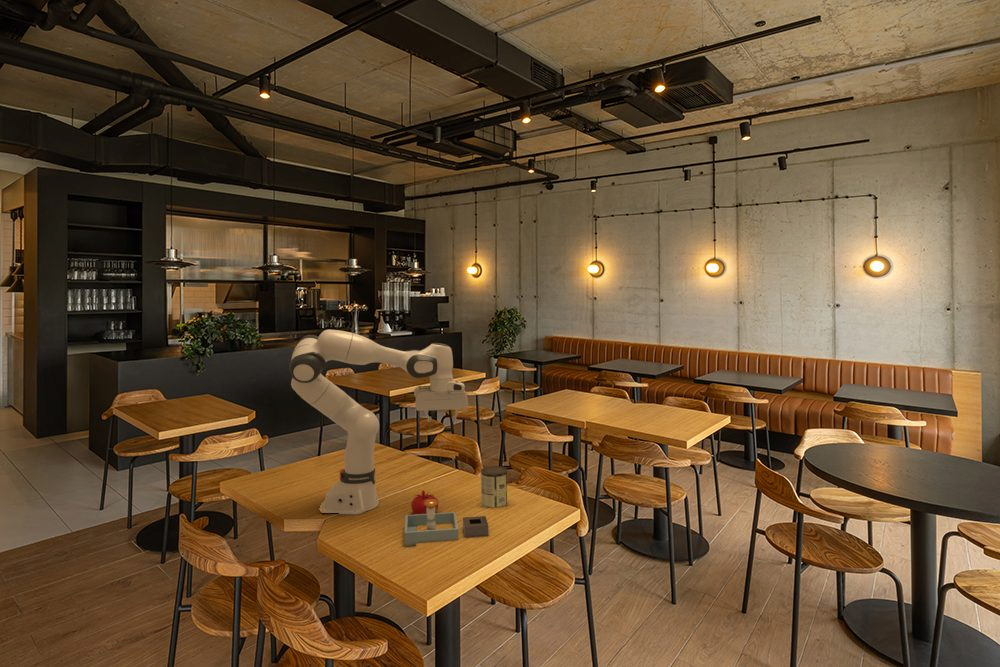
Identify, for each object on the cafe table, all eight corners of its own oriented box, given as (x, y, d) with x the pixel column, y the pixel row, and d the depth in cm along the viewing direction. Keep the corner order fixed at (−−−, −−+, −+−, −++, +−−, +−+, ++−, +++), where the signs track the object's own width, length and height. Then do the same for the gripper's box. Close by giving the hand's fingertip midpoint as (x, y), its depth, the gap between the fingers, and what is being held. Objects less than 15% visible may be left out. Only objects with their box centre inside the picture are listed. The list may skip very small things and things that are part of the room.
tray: (404, 546, 175) (404, 532, 175) (405, 527, 189) (405, 515, 189) (458, 542, 177) (458, 529, 177) (455, 524, 192) (455, 512, 192)
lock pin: (424, 536, 181) (424, 504, 180) (424, 530, 185) (424, 499, 184) (438, 535, 181) (437, 503, 181) (437, 529, 186) (437, 498, 185)
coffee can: (488, 498, 217) (487, 464, 216) (511, 502, 212) (511, 467, 211) (476, 507, 207) (476, 471, 206) (500, 511, 203) (500, 475, 202)
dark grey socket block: (464, 540, 179) (464, 527, 179) (462, 530, 187) (462, 517, 187) (488, 538, 180) (488, 525, 180) (485, 528, 188) (485, 516, 188)
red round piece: (437, 520, 196) (437, 495, 195) (410, 520, 196) (409, 495, 195) (438, 508, 206) (438, 485, 205) (412, 509, 205) (412, 485, 205)
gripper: (413, 387, 199) (414, 424, 200) (468, 385, 202) (469, 421, 203) (414, 384, 205) (414, 420, 206) (467, 383, 208) (467, 418, 209)
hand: (442, 421), depth 205 cm, fingers open, 8 cm apart
